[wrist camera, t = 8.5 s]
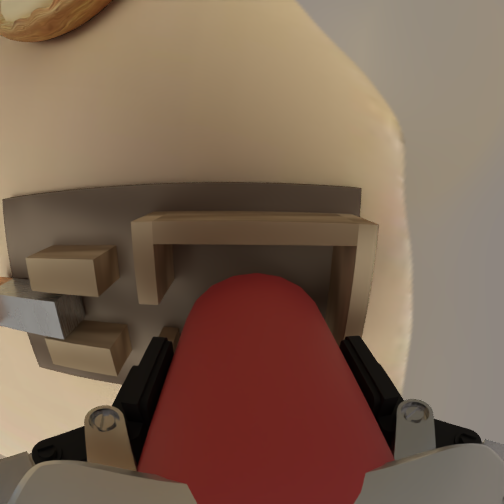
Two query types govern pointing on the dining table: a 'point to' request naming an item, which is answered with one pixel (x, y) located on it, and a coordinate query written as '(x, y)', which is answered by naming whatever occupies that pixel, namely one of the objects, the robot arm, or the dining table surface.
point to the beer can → (262, 403)
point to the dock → (182, 259)
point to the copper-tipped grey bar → (38, 309)
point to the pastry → (45, 17)
